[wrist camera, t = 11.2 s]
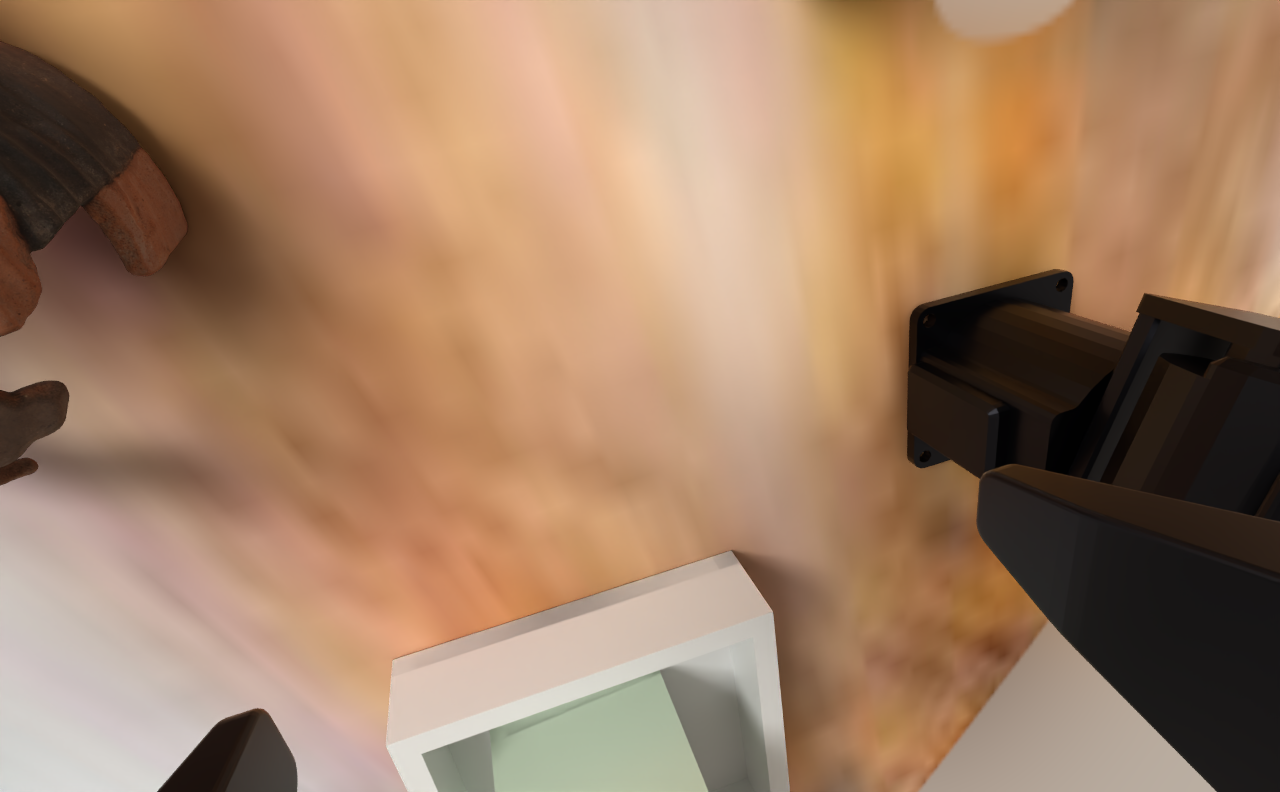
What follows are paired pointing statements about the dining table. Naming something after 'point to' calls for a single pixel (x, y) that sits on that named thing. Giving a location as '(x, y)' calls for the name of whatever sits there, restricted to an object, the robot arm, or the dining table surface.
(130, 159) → the pottery mug
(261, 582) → the dining table surface
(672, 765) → the green crate
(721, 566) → the grey crate
